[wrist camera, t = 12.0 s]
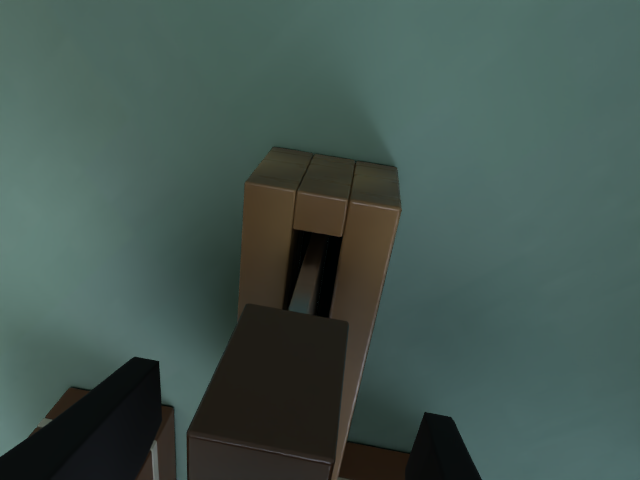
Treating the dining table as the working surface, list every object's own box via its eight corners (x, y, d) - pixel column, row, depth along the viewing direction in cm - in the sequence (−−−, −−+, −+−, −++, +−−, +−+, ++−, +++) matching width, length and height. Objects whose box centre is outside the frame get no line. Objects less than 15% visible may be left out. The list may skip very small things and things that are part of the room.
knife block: (398, 166, 13) (402, 208, 10) (343, 413, 17) (336, 486, 15) (272, 145, 13) (244, 181, 10) (252, 395, 17) (228, 464, 15)
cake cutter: (361, 206, 13) (335, 463, 6) (327, 382, 17) (283, 689, 9) (295, 195, 13) (184, 433, 6) (275, 372, 17) (188, 668, 9)
